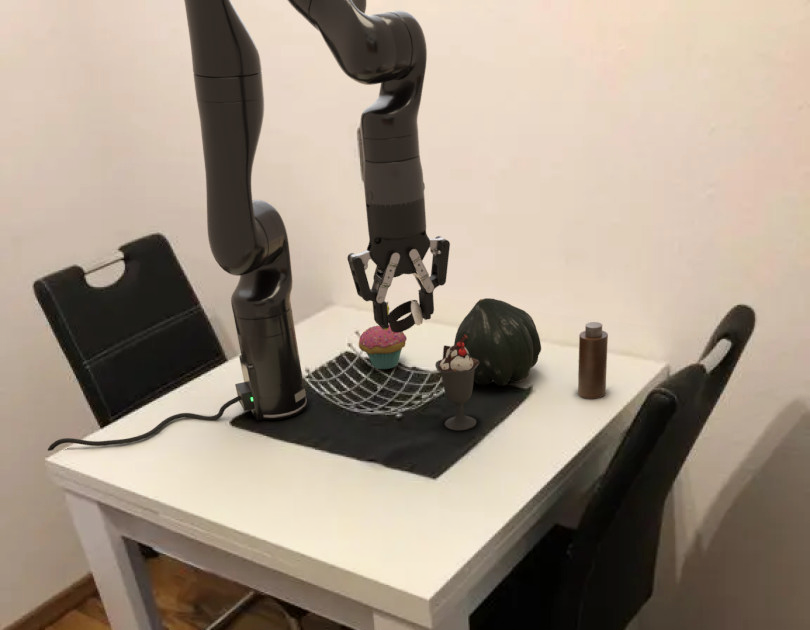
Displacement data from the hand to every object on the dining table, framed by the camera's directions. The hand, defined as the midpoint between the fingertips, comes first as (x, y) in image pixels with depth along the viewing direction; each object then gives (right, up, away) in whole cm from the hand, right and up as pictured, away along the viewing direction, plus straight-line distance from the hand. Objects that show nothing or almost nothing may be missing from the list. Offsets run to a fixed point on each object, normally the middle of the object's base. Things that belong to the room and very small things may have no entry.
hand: (404, 322), depth 124 cm
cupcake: (-4, +2, +41) cm, 41 cm away
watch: (0, -1, 0) cm, 1 cm away
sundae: (+9, -12, +19) cm, 24 cm away
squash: (+16, -2, +32) cm, 36 cm away
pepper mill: (+31, -6, +24) cm, 39 cm away
